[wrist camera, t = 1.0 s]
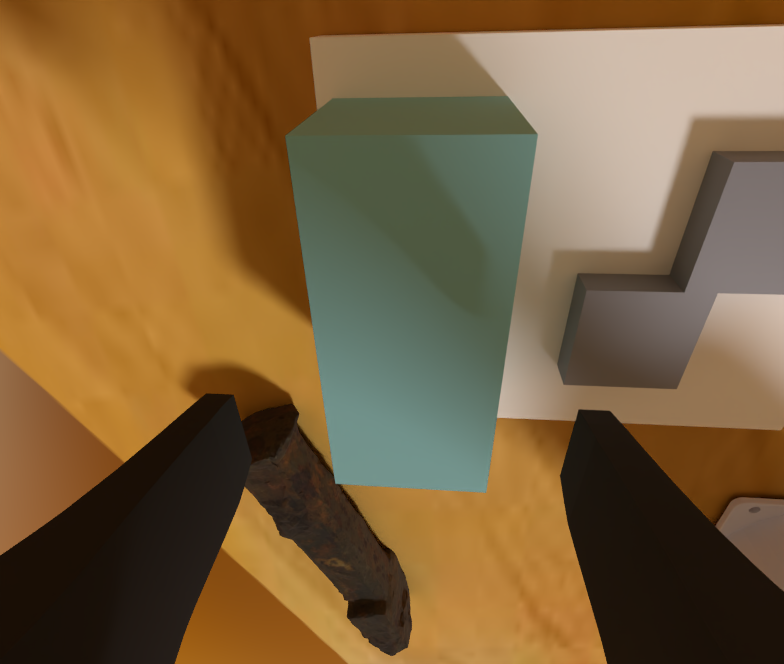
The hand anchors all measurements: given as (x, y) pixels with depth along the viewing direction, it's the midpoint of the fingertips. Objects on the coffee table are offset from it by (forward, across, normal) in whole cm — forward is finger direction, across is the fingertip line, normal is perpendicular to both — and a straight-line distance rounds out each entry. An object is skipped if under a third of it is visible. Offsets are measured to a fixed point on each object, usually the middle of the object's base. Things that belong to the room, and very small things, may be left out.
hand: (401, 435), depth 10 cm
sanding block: (+8, 0, 0) cm, 8 cm away
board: (+9, -6, 0) cm, 11 cm away
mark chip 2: (+8, -10, -2) cm, 13 cm away
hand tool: (+10, +4, +17) cm, 20 cm away
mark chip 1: (+8, -8, +2) cm, 11 cm away
